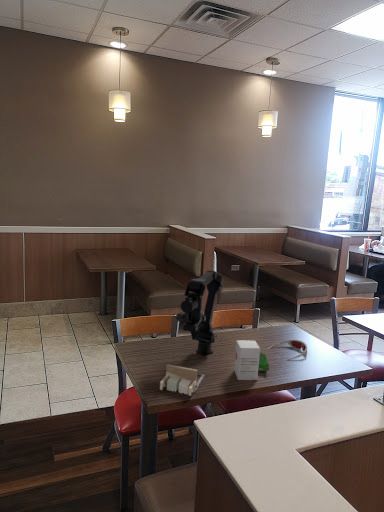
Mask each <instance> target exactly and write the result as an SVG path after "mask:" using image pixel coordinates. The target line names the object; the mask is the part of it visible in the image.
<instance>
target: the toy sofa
mask: <svg viewBox="0 0 384 512" xmlns="http://www.w3.org/2000/svg"><path fill="white" fill-rule="evenodd" d="M165 368H166V370H165V371H166V372H165V376H164V377H163V378H162V379H161V380H160V382H159V390H160V391H163V390H164V389H165V388H166V387H165V386H166V384H167V381H168V379H169V378H170V377H174V378H179V379H180V381H181V380H182V379H184V380H189V381H191V385H190V387H189V392H188V394H187V395H188V396H189V397H191V396H193V394H194V393H195V392H194V390H195V388H197V389H198V387H197V382H198V375H197V373H198V369H194V368H190V367H185V366H179V365H173V364H166V367H165Z"/></svg>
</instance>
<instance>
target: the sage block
mask: <svg viewBox="0 0 384 512" xmlns="http://www.w3.org/2000/svg"><path fill="white" fill-rule="evenodd" d="M179 383H180V379H179V378H174V377H170V378H169V379H168V381H167V387H166V391H170V392H174V391H175V393H176V391H179Z"/></svg>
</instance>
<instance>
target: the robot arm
mask: <svg viewBox="0 0 384 512" xmlns="http://www.w3.org/2000/svg"><path fill="white" fill-rule="evenodd" d="M224 286H225V280H224V278H223V277H222V276H221V275H220V274H219V273H218V271H215V270H211V269H208V270H206V271H205V273H204V274H202V275H201V276H200V277H198V278H191V279H190V280H189V281H188V283H187V285H186V289H185V292H184V296H185V298H184V300H183V301H181V304H180V310H181V312H178V313H176V316H175V317H176V318H175V319H176V320H177V322H181V321H185V320H186V322H185V323H184V324H182V331H187V332H190V335H191V340H193V341H198V343H197V350H195V352H196V353H198V354H200V355H202V356H205V357H206V356H208V355H210V354H213V353H214V351H213V350H212V344H215V340H216V336H215V333H214V326H213V324H212V321H213V317H214V312H215V307H216V303H217V298H218V295H219V294H221V292H222V290H223V287H224ZM206 290H207V296H206V301H205V306H204V310H203V308H202V307H203V297H204V295H205V292H206ZM203 311H204V312H203ZM202 312H203V313H202Z"/></svg>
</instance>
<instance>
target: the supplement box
mask: <svg viewBox="0 0 384 512" xmlns="http://www.w3.org/2000/svg"><path fill="white" fill-rule="evenodd" d="M260 353H261V347H260V346H259V344H258V343H257V342H256V340H245V339H242V340H241V339H240V340H236V343H235V356H234V357H235V359H234V370H233V371H234V373H235V376H236V378H237V380H238V381H258V378H259V376H258V375H259V371H258V368H259V356H260Z"/></svg>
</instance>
